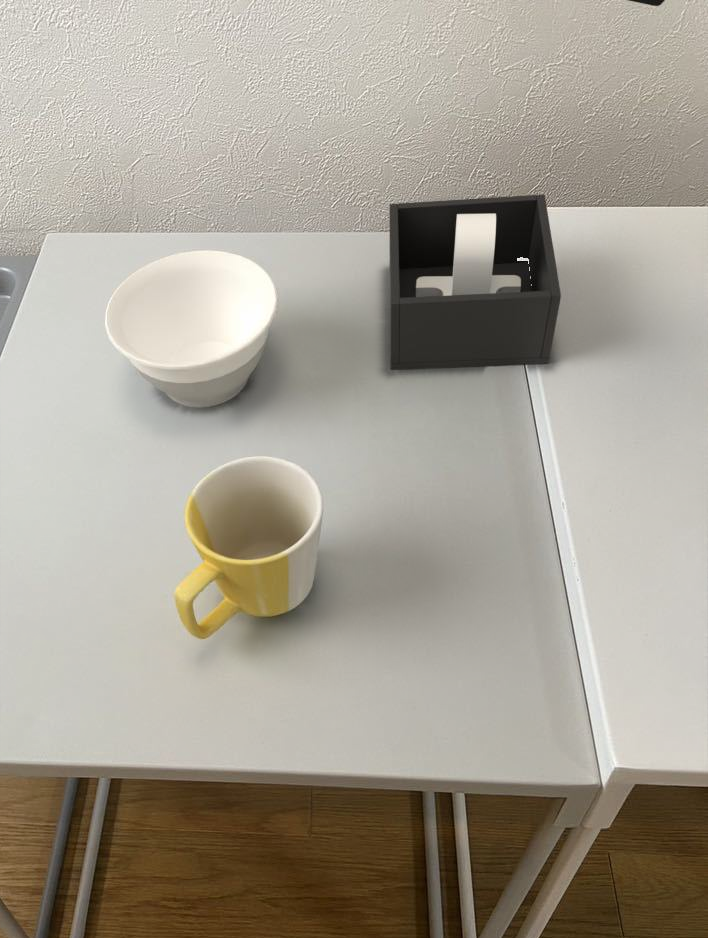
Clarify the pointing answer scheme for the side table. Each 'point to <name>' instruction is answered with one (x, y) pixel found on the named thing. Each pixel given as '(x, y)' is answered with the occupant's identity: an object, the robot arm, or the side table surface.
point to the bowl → (194, 323)
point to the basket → (476, 315)
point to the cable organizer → (471, 262)
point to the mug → (251, 540)
